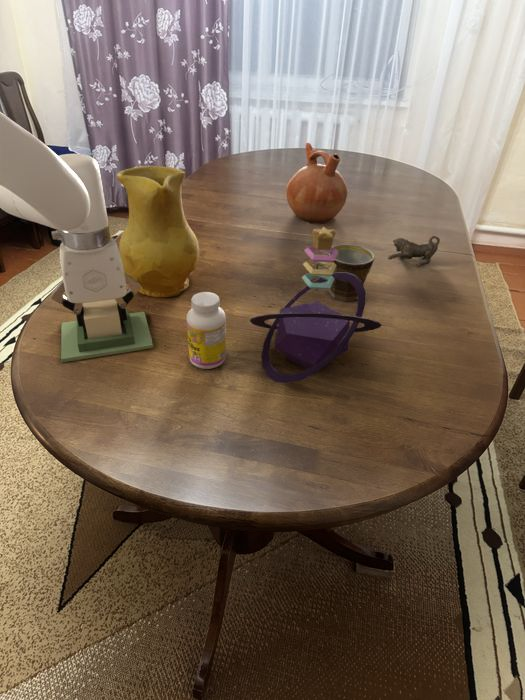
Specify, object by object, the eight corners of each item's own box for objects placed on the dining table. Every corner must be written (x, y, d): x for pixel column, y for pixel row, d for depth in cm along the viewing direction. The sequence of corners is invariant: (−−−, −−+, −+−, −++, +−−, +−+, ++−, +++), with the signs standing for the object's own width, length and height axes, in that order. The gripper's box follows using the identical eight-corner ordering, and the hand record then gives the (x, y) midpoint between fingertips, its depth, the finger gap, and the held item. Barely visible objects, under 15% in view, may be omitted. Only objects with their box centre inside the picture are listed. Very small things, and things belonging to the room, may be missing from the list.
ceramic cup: (354, 281, 111) (361, 242, 105) (374, 302, 104) (383, 261, 98) (303, 287, 108) (308, 247, 102) (321, 310, 100) (326, 268, 94)
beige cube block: (88, 339, 85) (83, 319, 82) (87, 322, 90) (82, 302, 87) (122, 334, 87) (118, 314, 84) (119, 318, 91) (116, 298, 89)
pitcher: (112, 300, 99) (98, 179, 85) (135, 265, 115) (126, 157, 101) (193, 306, 100) (191, 187, 86) (204, 270, 115) (205, 164, 101)
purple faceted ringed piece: (359, 328, 95) (382, 209, 80) (379, 399, 78) (415, 264, 63) (249, 325, 95) (252, 204, 80) (247, 395, 78) (250, 258, 63)
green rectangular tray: (62, 362, 83) (58, 350, 81) (62, 326, 92) (59, 314, 90) (153, 348, 87) (151, 336, 86) (144, 314, 96) (143, 303, 95)
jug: (273, 210, 147) (277, 142, 135) (321, 202, 154) (328, 138, 142) (304, 231, 134) (312, 159, 122) (354, 222, 142) (366, 153, 129)
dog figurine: (431, 259, 123) (438, 232, 119) (434, 268, 119) (442, 241, 114) (385, 254, 124) (391, 227, 120) (386, 264, 120) (393, 236, 115)
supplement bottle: (184, 352, 86) (180, 292, 79) (218, 345, 89) (216, 285, 81) (196, 374, 82) (192, 312, 74) (231, 365, 84) (231, 304, 76)
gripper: (28, 250, 72) (54, 344, 83) (142, 239, 77) (153, 330, 87) (31, 231, 77) (55, 321, 88) (137, 222, 82) (147, 309, 93)
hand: (103, 325), depth 88 cm, fingers closed on beige cube block, 5 cm apart
